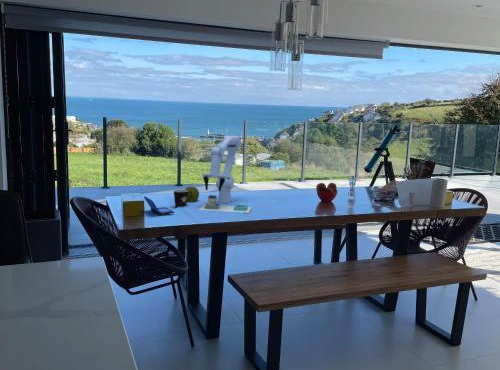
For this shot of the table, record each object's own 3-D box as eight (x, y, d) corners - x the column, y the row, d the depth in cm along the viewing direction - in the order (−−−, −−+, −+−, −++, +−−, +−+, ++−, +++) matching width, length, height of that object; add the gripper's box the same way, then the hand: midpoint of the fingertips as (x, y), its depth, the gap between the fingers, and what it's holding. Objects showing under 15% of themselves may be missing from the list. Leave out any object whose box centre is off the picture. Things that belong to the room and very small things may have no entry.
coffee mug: (174, 209, 272) (174, 192, 270) (172, 205, 280) (172, 189, 278) (194, 208, 275) (194, 191, 273) (192, 205, 283) (192, 189, 281)
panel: (204, 206, 281) (204, 201, 280) (251, 208, 277) (251, 204, 277) (198, 211, 267) (198, 206, 267) (248, 214, 264) (248, 209, 263)
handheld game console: (175, 215, 258) (175, 198, 257) (152, 217, 252) (151, 200, 250) (165, 209, 272) (165, 193, 270) (143, 211, 265) (143, 195, 263)
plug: (209, 206, 275) (209, 195, 274) (216, 207, 275) (216, 195, 273) (208, 208, 271) (208, 196, 270) (214, 208, 271) (215, 196, 270)
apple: (200, 201, 295) (200, 184, 293) (197, 204, 286) (197, 186, 284) (184, 200, 296) (185, 183, 294) (181, 203, 287) (181, 186, 285)
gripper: (201, 165, 268) (199, 188, 267) (226, 167, 266) (224, 191, 265) (204, 167, 275) (201, 189, 274) (228, 169, 273) (226, 192, 272)
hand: (212, 190), depth 270 cm, fingers open, 7 cm apart
